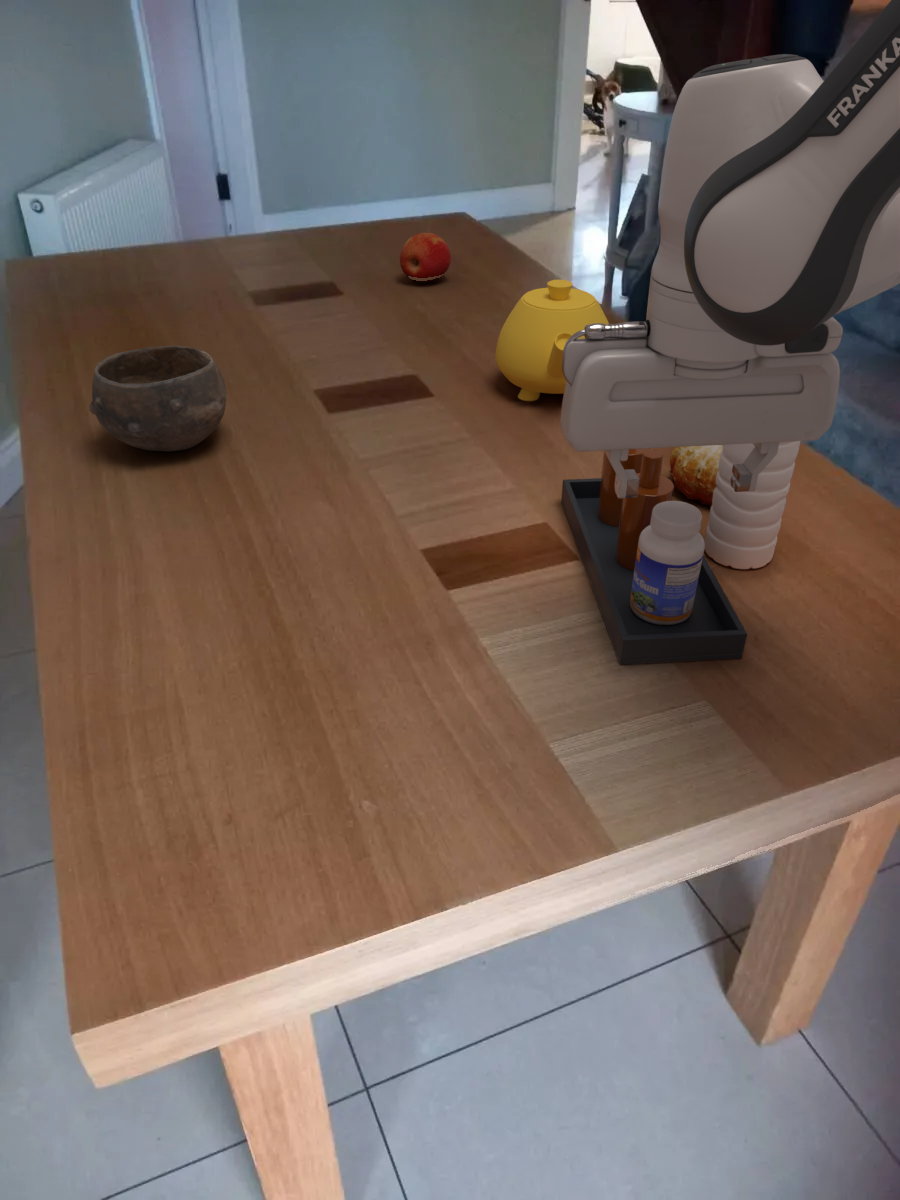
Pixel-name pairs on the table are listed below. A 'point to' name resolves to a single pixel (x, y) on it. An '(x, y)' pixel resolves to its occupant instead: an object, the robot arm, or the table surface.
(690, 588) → the pill bottle
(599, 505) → the amber bottle
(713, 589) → the tray
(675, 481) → the fruit
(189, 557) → the table surface
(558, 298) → the teapot
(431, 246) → the apple
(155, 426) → the bowl
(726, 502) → the water bottle
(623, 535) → the amber bottle
